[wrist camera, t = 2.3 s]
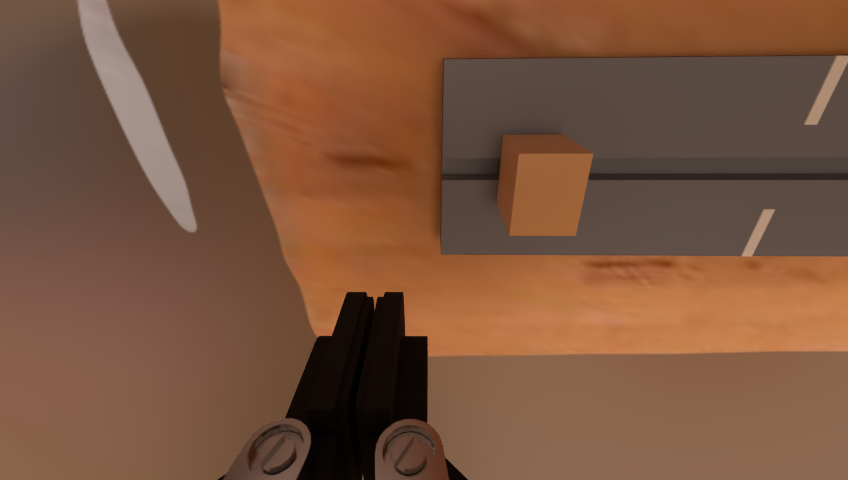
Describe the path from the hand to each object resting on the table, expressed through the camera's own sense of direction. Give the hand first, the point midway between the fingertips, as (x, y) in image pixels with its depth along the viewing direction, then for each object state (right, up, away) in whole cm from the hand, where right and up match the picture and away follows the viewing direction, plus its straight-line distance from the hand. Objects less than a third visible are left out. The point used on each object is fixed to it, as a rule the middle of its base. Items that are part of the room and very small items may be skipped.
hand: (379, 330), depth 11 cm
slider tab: (+9, +8, +15) cm, 19 cm away
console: (+19, +9, +17) cm, 27 cm away
